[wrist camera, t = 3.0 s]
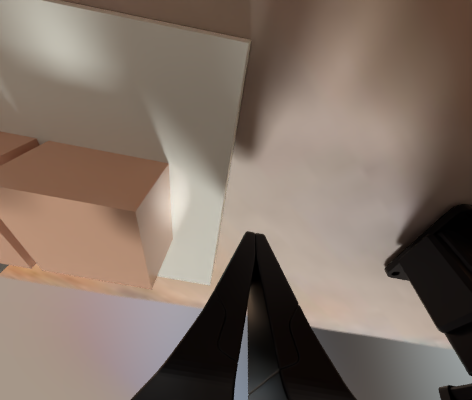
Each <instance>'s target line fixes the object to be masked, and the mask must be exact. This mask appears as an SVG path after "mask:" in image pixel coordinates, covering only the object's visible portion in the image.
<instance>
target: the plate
mask: <svg viewBox="0 0 472 400" xmlns="http://www.w3.org/2000/svg"><path fill="white" fill-rule="evenodd" d="M250 45H251V40H249V39H244V38H239V37H235V36H230V35H225V34H220V33H215V32H210V31H206V30H201V29H196V28H191V27H186V26H182V25H177V24H172V23H167V22H162V21H157V20H153V19H148V18H143V17H138V16H133V15H129V14H124V13H119V12H114V11H109V10H104V9H100V8H95V7H90V6H85V5H80V4H75V3H71V2H66V1H61V0H0V131H1V132H6V133H11V134H17V135H22V136H27V137H32V138H37V140H38V143H39V145H41V144H43V143H45V142H47V141H54V142H59V143H64V144H69V145H75V146H80V147H85V148H90V149H96V150H101V151H106V152H111V153H117V154H122V155H127V156H133V157H138V158H143V159H148V160H154V161H159V162H164V163H169V176H170V194H171V212H172V230H173V240H172V243H171V245H170V247H169V250H168V252H167V254H166V257H165V259H164V261H163V264H162V266H161V268H160V271H159V273H158V276H159V277H165V278H170V279H176V280H182V281H187V282H193V283H199V284H204V285H210V283H211V278H212V273H213V268H214V263H215V258H216V252H217V246H218V240H219V233H220V227H221V221H222V215H223V209H224V203H225V197H226V191H227V185H228V179H229V173H230V167H231V161H232V155H233V148H234V142H235V136H236V130H237V124H238V118H239V112H240V106H241V100H242V94H243V88H244V82H245V76H246V70H247V63H248V57H249V51H250Z"/></svg>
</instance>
